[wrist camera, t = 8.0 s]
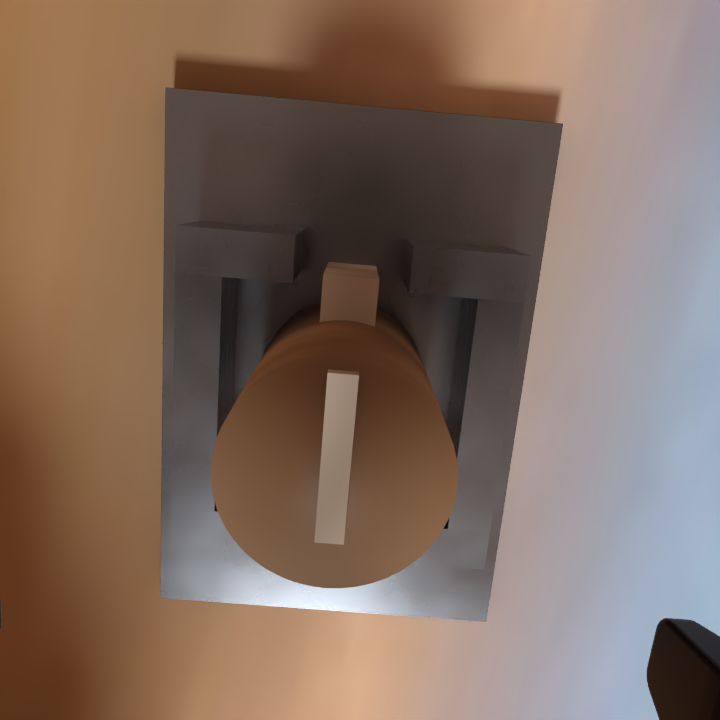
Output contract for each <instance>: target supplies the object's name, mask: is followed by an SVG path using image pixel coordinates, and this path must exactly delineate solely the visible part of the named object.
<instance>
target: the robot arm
mask: <svg viewBox="0 0 720 720" xmlns="http://www.w3.org/2000/svg"><path fill="white" fill-rule="evenodd" d="M0 628H1V605H0ZM647 682H648V687H649V691H650V694H651V697H652V699H653V702H654V705H655V708H656V711H657V714H658V717H659V720H720V637H719V636H718V635H716V634H715V633H713V632H711V631H710V630H708V629H706V628H705V627H703V626H701V625H700V624H698V623H696V622H695V621H692V620H685V619H671V618H664V619H663V620H661V621H660V622H659V624H658V625H657V628H656V632H655V636H654V641H653V645H652V649H651V653H650V658H649V662H648V666H647Z"/></svg>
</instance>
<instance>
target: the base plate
mask: <svg viewBox="0 0 720 720" xmlns="http://www.w3.org/2000/svg"><path fill="white" fill-rule="evenodd" d="M562 127H563V124H559V123H549V122H538V121H527V120H516V119H505V118H494V117H483V116H472V115H461V114H450V113H440V112H429V111H418V110H407V109H396V108H385V107H374V106H363V105H352V104H341V103H331V102H320V101H309V100H298V99H287V98H276V97H265V96H254V95H243V94H232V93H222V92H211V91H200V90H189V89H178V88H167V87H166V92H165V190H164V288H163V386H162V484H161V582H160V598H167V599H181V600H195V601H208V602H222V603H236V604H250V605H263V606H277V607H291V608H304V609H318V610H332V611H346V612H359V613H373V614H387V615H401V616H414V617H428V618H442V619H455V620H469V621H483V622H486V619H487V612H488V606H489V599H490V593H491V586H492V580H493V573H494V567H495V560H496V554H497V548H498V541H499V535H500V528H501V522H502V515H503V509H504V502H505V496H506V489H507V483H508V476H509V470H510V463H511V457H512V451H513V444H514V438H515V431H516V425H517V418H518V412H519V405H520V399H521V392H522V386H523V379H524V373H525V367H526V360H527V354H528V347H529V341H530V334H531V328H532V321H533V315H534V308H535V302H536V295H537V289H538V282H539V276H540V270H541V263H542V257H543V250H544V244H545V237H546V231H547V224H548V218H549V211H550V205H551V198H552V192H553V186H554V179H555V173H556V166H557V160H558V153H559V147H560V140H561V134H562ZM328 262H336V263H347V264H359V265H370V266H376V267H377V272H378V276H379V289H378V300H377V309H379V310H381V311H383V312H385V313H386V314H388V315H390V316H391V317H392V318H393V319H395V320H396V321H397V322H398V323H399V324H400V325H401V326H402V327H403V328H404V329H405V330H406V331H407V332H408V334H409V335H410V337H411V338H412V339H413V341H414V343H415V345H416V347H417V349H418V352H419V354H420V357H421V359H422V362H423V365H424V367H425V370H426V373H427V375H428V378H429V381H430V383H431V386H432V389H433V391H434V394H435V397H436V399H437V402H438V405H439V407H440V410H441V413H442V415H443V418H444V421H445V423H446V426H447V429H448V431H449V434H450V437H451V439H452V442H453V445H454V449H455V454H456V458H457V468H458V483H457V492H456V497H455V502H454V505H453V508H452V511H451V514H450V517H449V519H448V521H447V523H446V525H445V527H444V528H443V530H442V532H441V533H440V535H439V536H438V538H437V539H436V540H435V542H434V543H433V544H432V545H431V547H430V548H429V549H428V550H427V551H426V552H425V553H424V554H423V555H422V556H421V557H419V558H418V559H417V560H416V561H415V562H413V563H412V564H411V565H409V566H408V567H406V568H405V569H403V570H402V571H400V572H398V573H396V574H394V575H392V576H390V577H388V578H386V579H383V580H380V581H377V582H374V583H371V584H367V585H362V586H358V587H349V588H321V587H313V586H308V585H304V584H300V583H296V582H293V581H290V580H288V579H285V578H283V577H280V576H278V575H276V574H274V573H273V572H271V571H269V570H267V569H265V568H264V567H263V566H261V565H260V564H258V563H257V562H255V561H254V560H253V559H252V558H251V557H250V556H248V555H247V554H246V553H245V552H244V551H243V550H242V549H241V548H240V547H239V545H238V544H237V543H236V542H235V541H234V540H233V538H232V537H231V535H230V534H229V532H228V531H227V529H226V528H225V526H224V524H223V522H222V520H221V518H220V516H219V514H218V511H217V508H216V505H215V501H214V498H213V492H212V487H211V461H212V454H213V450H214V446H215V442H216V439H217V436H218V434H219V431H220V429H221V426H222V425H223V423H224V421H225V419H226V418H227V416H228V414H229V413H230V411H231V409H232V407H233V406H234V404H235V402H236V400H237V399H238V397H239V395H240V394H241V392H242V390H243V388H244V387H245V385H246V383H247V382H248V380H249V378H250V376H251V375H252V373H253V371H254V369H255V368H256V366H257V364H258V363H259V361H260V359H261V357H262V356H263V354H264V352H265V350H266V349H267V347H268V345H269V344H270V342H271V340H272V338H273V337H274V335H275V334H276V333H277V331H278V330H279V329H280V328H281V327H282V326H283V325H284V324H285V323H286V322H287V321H288V320H289V319H291V318H292V317H293V316H295V315H296V314H297V313H299V312H301V311H303V310H305V309H307V308H309V307H312V306H314V305H317V304H321V297H322V283H323V274H324V271H325V269H326V267H327V264H328Z"/></svg>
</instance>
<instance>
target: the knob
mask: <svg viewBox="0 0 720 720" xmlns="http://www.w3.org/2000/svg"><path fill="white" fill-rule="evenodd" d="M378 289H379V276H378V272H377V267H376V266H370V265H359V264H347V263H336V262H328V264H327V267H326V269H325V271H324V274H323V283H322V297H321V304H317V305H314V306H312V307H309V308H307V309H305V310H303V311H301V312H299V313H297V314H296V315H295V316H293V317H292V318H291V319H289V320H288V321H287V322H286V323H285V324H284V325H283V326H282V327H281V328H280V329H279V330H278V331H277V333H276V334H275V335H274V337H273V338H272V340H271V342H270V344H269V345H268V347H267V349H266V350H265V352H264V354H263V356H262V357H261V359H260V361H259V363H258V364H257V366H256V368H255V369H254V371H253V373H252V375H251V376H250V378H249V380H248V382H247V383H246V385H245V387H244V388H243V390H242V392H241V394H240V395H239V397H238V399H237V400H236V402H235V404H234V406H233V407H232V409H231V411H230V413H229V414H228V416H227V418H226V419H225V421H224V423H223V425H222V426H221V429H220V431H219V434H218V436H217V439H216V442H215V446H214V450H213V454H212V461H211V487H212V492H213V498H214V501H215V505H216V508H217V511H218V514H219V516H220V518H221V520H222V522H223V524H224V526H225V528H226V529H227V531H228V532H229V534H230V535H231V537H232V538H233V540H234V541H235V542H236V543H237V544H238V545H239V547H240V548H241V549H242V550H243V551H244V552H245V553H246V554H247V555H248V556H250V557H251V558H252V559H253V560H254V561H255V562H257V563H258V564H260V565H261V566H263V567H264V568H265V569H267V570H269V571H271V572H273V573H274V574H276V575H278V576H280V577H283V578H285V579H288V580H290V581H293V582H296V583H300V584H304V585H308V586H313V587H321V588H349V587H358V586H362V585H367V584H371V583H374V582H377V581H380V580H383V579H386V578H388V577H390V576H392V575H394V574H396V573H398V572H400V571H402V570H403V569H405V568H406V567H408V566H409V565H411V564H412V563H413V562H415V561H416V560H417V559H418V558H419V557H421V556H422V555H423V554H424V553H425V552H426V551H427V550H428V549H429V548H430V547H431V545H432V544H433V543H434V542H435V540H436V539H437V538H438V536H439V535H440V533H441V532H442V530H443V528H444V527H445V525H446V523H447V521H448V519H449V517H450V514H451V511H452V508H453V505H454V502H455V497H456V492H457V483H458V468H457V458H456V454H455V449H454V445H453V442H452V439H451V437H450V434H449V431H448V429H447V426H446V423H445V421H444V418H443V415H442V413H441V410H440V407H439V405H438V402H437V399H436V397H435V394H434V391H433V389H432V386H431V383H430V381H429V378H428V375H427V373H426V370H425V367H424V365H423V362H422V359H421V357H420V354H419V352H418V349H417V347H416V345H415V343H414V341H413V339H412V338H411V337H410V335H409V334H408V332H407V331H406V330H405V329H404V328H403V327H402V326H401V325H400V324H399V323H398V322H397V321H396V320H395V319H393V318H392V317H391V316H390V315H388V314H386V313H385V312H383V311H381V310H379V309H377V300H378Z"/></svg>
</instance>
